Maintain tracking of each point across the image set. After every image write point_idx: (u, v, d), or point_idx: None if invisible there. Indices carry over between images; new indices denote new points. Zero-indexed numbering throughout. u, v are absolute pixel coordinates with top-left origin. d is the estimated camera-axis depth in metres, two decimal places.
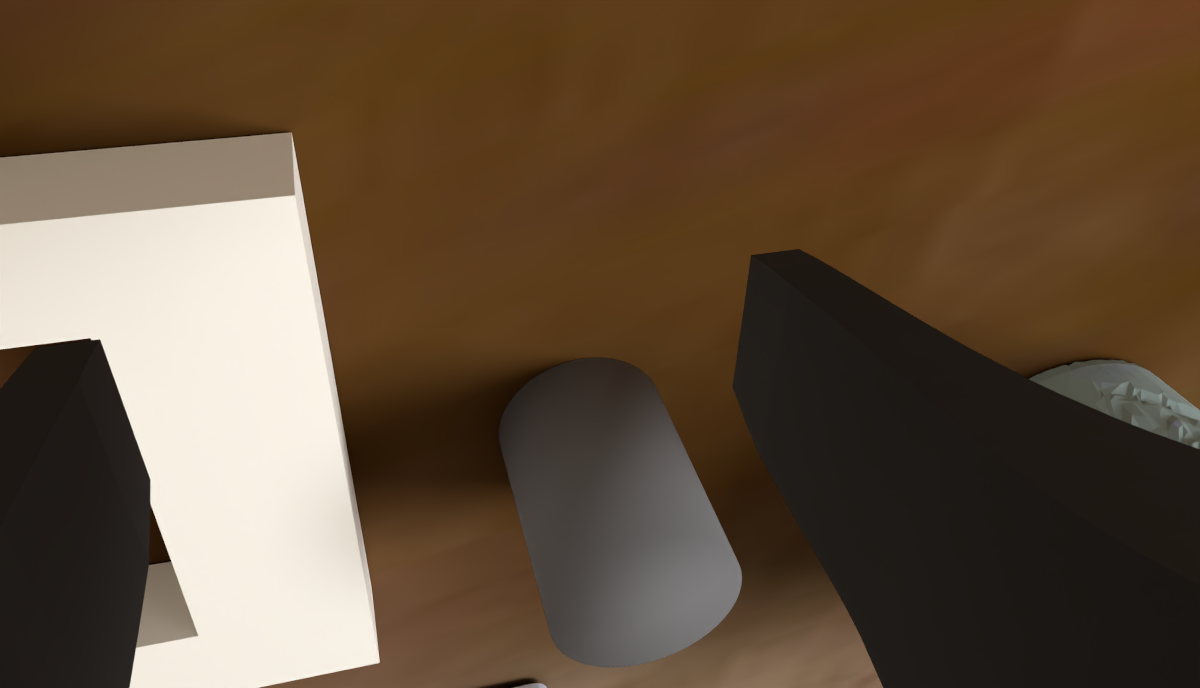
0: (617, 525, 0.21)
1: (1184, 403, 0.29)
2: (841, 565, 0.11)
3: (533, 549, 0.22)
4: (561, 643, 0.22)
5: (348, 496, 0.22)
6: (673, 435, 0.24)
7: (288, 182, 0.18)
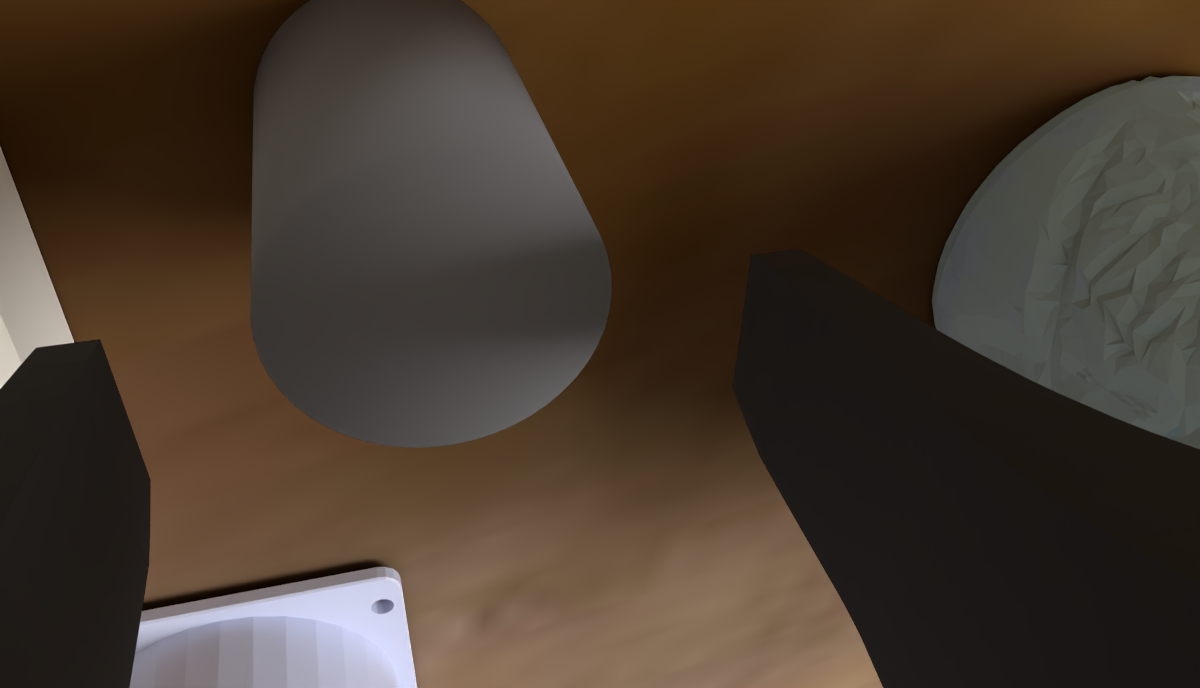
0: (364, 140, 0.11)
1: None
2: (841, 565, 0.11)
3: None
4: (287, 383, 0.12)
5: None
6: (513, 78, 0.14)
7: None
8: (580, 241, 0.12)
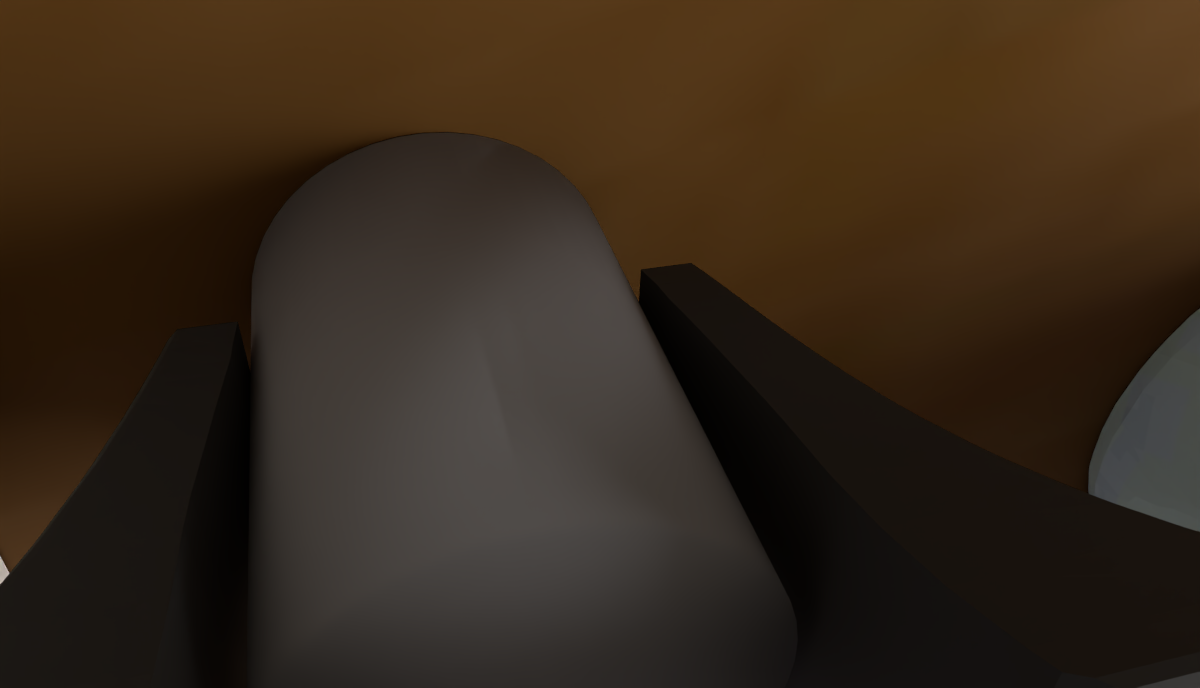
0: (431, 495, 0.07)
1: None
2: None
3: None
4: None
5: None
6: (623, 291, 0.10)
7: None
8: (759, 611, 0.08)
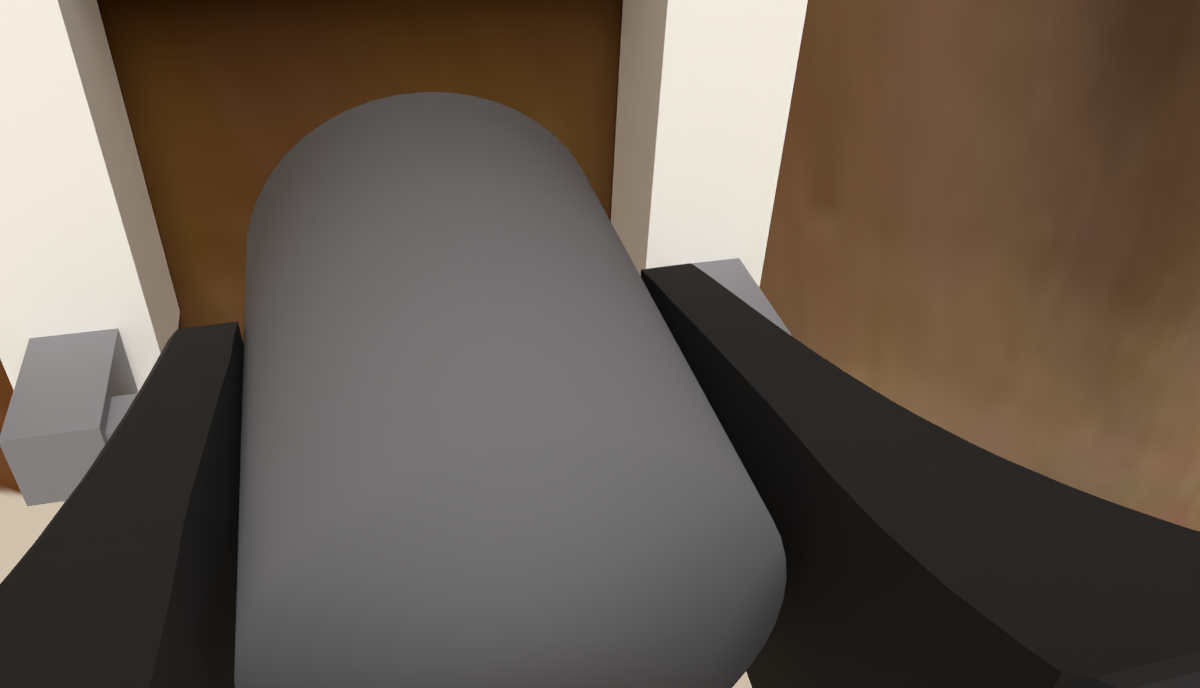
0: (428, 411, 0.07)
1: None
2: None
3: (239, 498, 0.09)
4: None
5: None
6: (618, 246, 0.10)
7: None
8: (750, 545, 0.08)
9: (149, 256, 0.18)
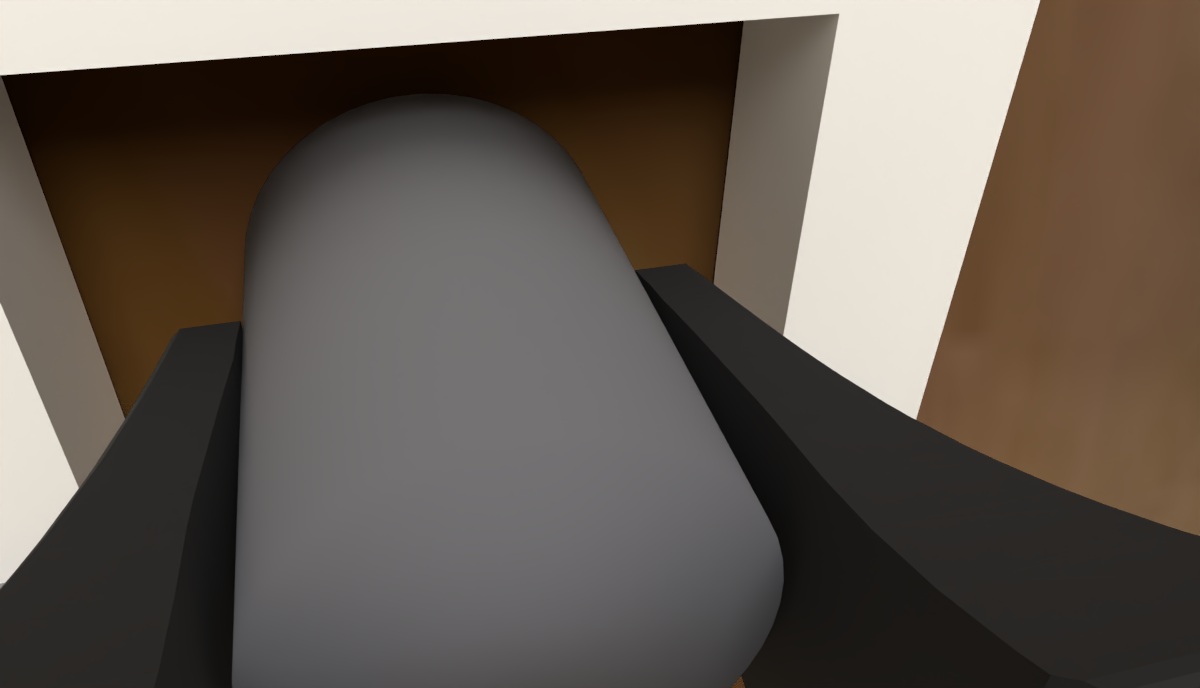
0: (425, 412, 0.07)
1: None
2: None
3: (237, 499, 0.09)
4: None
5: None
6: (616, 248, 0.10)
7: None
8: (747, 546, 0.08)
9: None
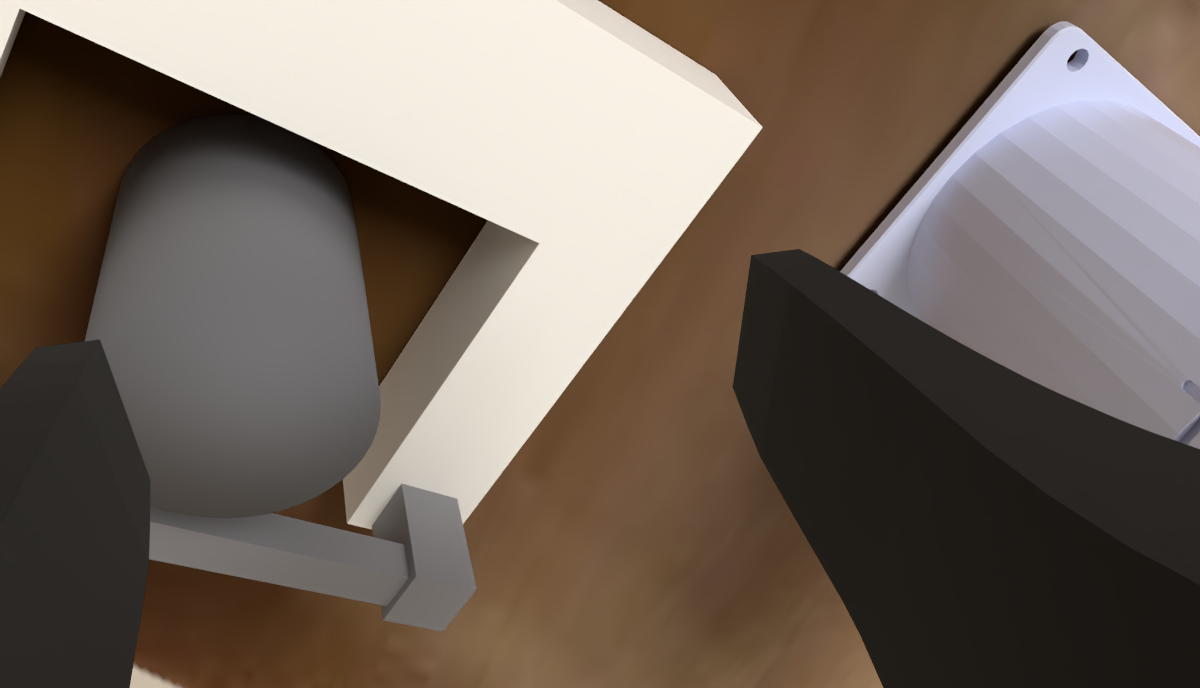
0: (258, 276, 0.14)
1: None
2: (841, 565, 0.11)
3: (110, 278, 0.15)
4: None
5: None
6: (360, 262, 0.18)
7: None
8: (364, 416, 0.16)
9: None
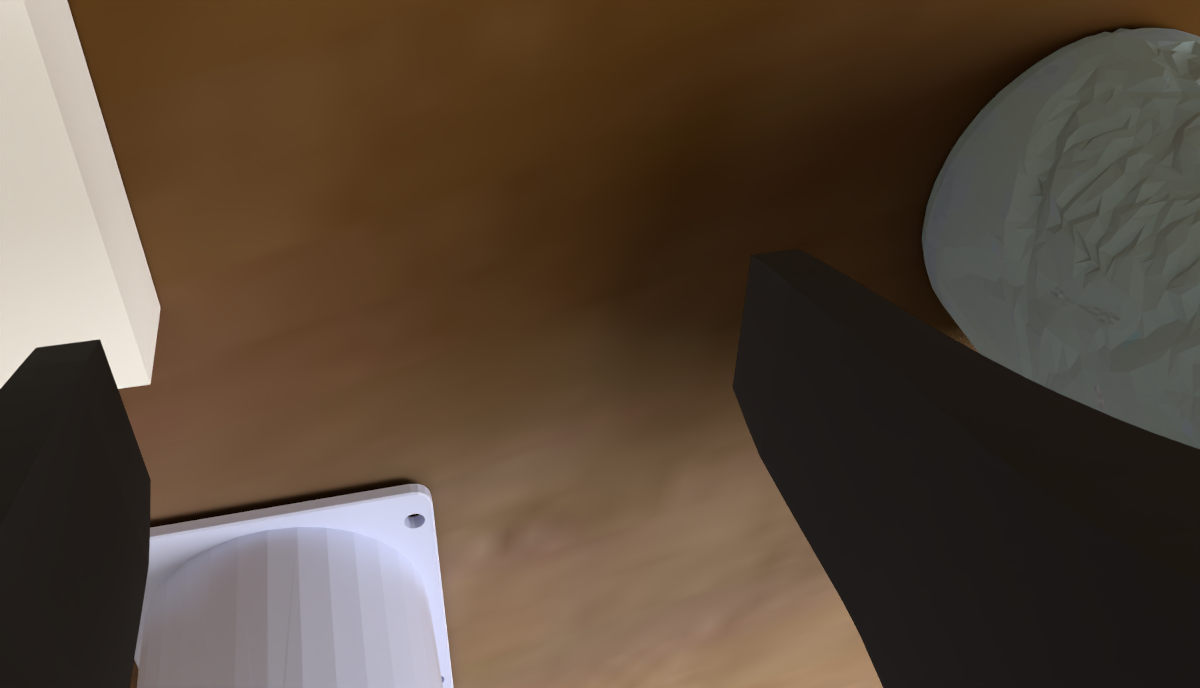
0: None
1: None
2: (841, 565, 0.11)
3: None
4: None
5: (40, 56, 0.15)
6: None
7: None
8: None
9: None
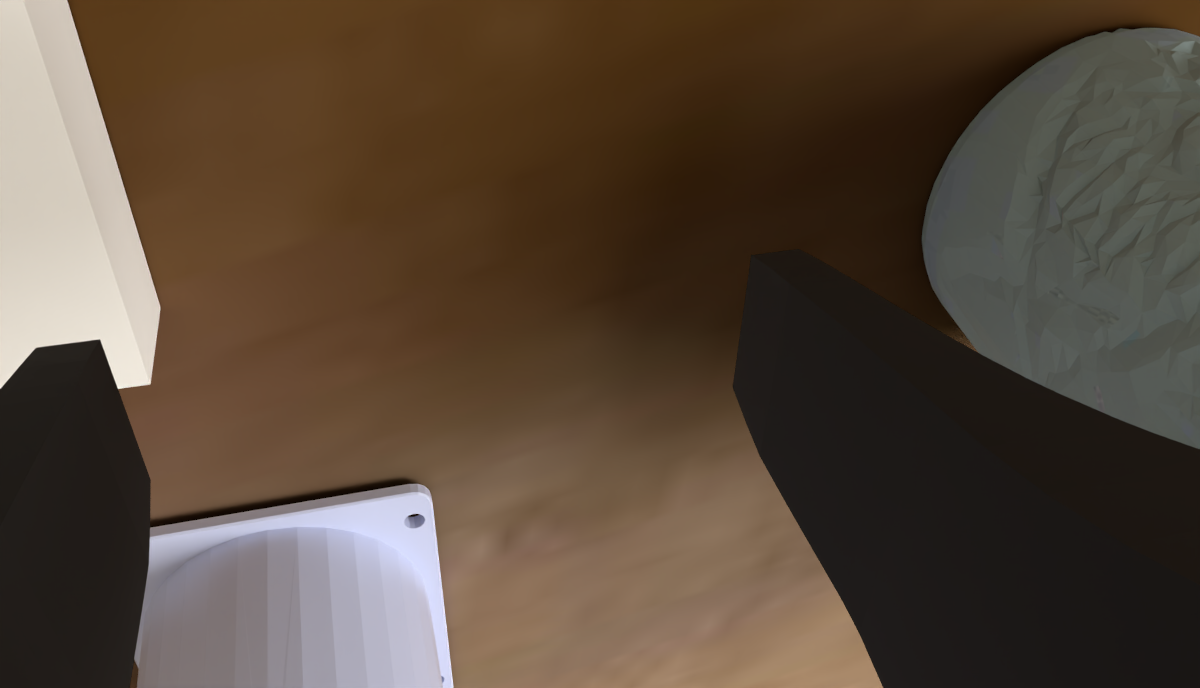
0: None
1: None
2: (841, 565, 0.11)
3: None
4: None
5: (40, 56, 0.15)
6: None
7: None
8: None
9: None
